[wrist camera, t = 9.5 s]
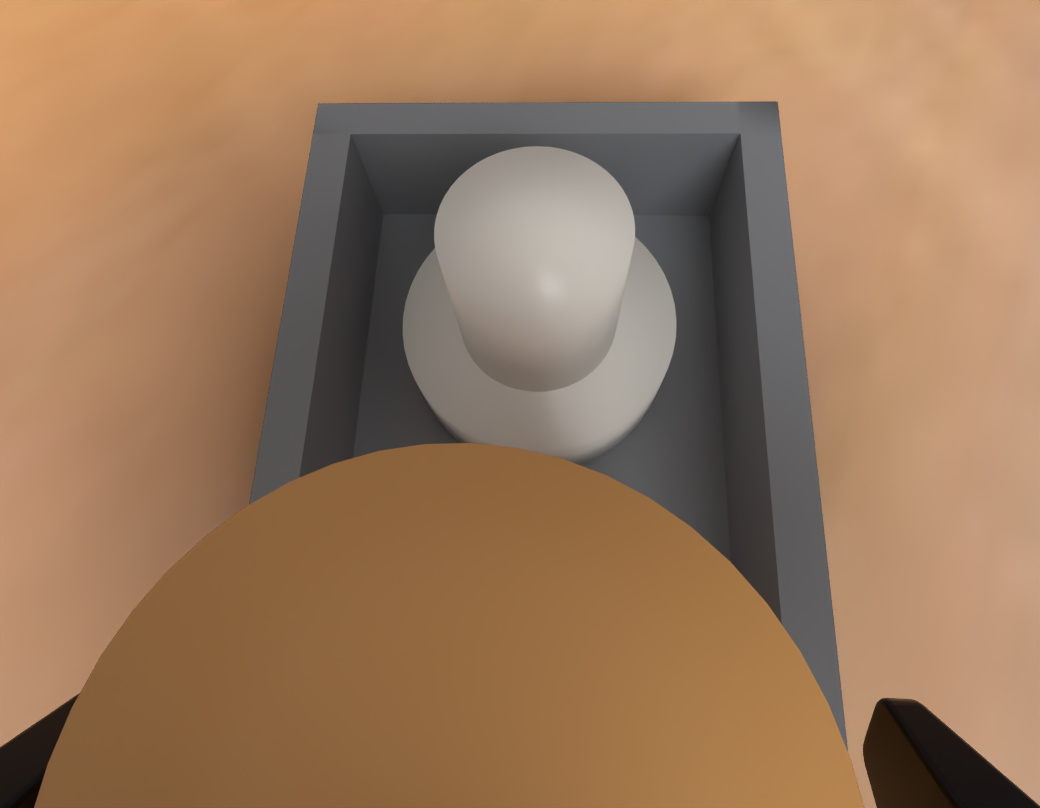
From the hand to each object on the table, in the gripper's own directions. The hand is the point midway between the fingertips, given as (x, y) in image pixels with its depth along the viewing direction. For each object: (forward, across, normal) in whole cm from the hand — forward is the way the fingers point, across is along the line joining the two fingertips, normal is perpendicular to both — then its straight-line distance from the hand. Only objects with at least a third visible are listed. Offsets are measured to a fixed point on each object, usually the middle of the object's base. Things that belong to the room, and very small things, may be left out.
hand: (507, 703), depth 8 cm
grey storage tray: (+9, 0, +4) cm, 10 cm away
